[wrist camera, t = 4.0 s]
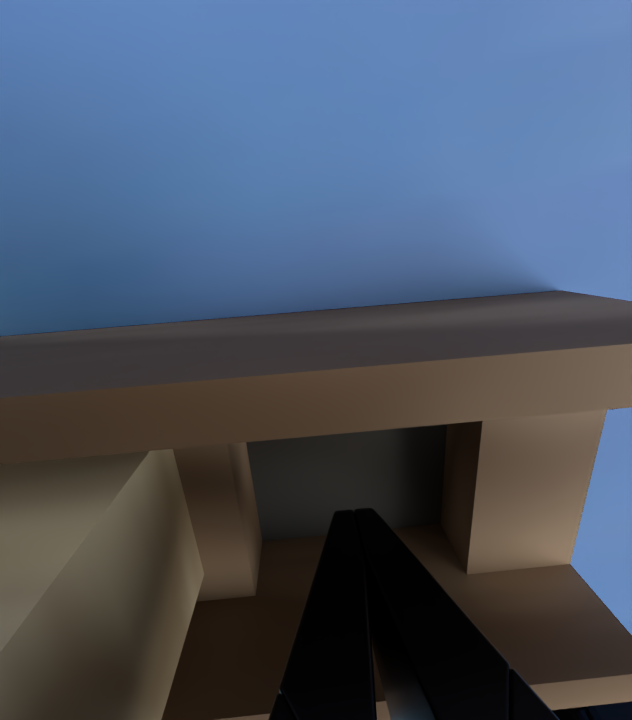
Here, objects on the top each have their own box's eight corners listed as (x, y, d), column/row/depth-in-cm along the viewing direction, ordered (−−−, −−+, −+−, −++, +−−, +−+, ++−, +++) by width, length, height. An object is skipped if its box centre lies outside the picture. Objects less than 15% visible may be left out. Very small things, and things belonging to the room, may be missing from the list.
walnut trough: (520, 533, 12) (650, 699, 7) (-178, 602, 11) (-477, 824, 7) (561, 290, 9) (806, 329, 5) (-365, 366, 8) (-1070, 489, 4)
